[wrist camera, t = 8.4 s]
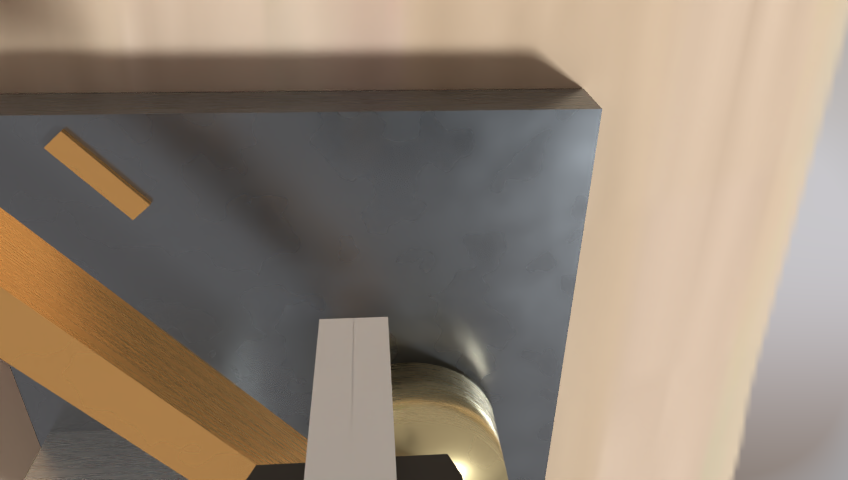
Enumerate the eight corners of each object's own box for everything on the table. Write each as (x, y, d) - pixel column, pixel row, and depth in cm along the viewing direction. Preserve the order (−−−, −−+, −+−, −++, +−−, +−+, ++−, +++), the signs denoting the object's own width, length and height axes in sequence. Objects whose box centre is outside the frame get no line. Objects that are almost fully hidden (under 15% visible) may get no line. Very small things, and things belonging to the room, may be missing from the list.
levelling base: (527, 494, 32) (596, 768, 23) (98, 518, 31) (-22, 822, 21) (583, 88, 22) (751, 271, 13) (-49, 94, 21) (-404, 306, 11)
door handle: (528, 434, 27) (575, 602, 21) (394, 514, 29) (402, 690, 23) (108, 33, 18) (-19, 125, 12) (-47, 186, 20) (-226, 332, 14)
